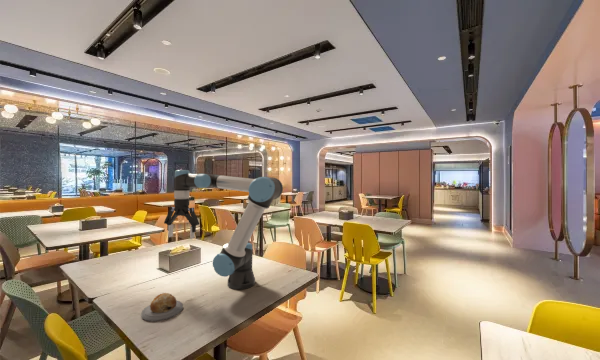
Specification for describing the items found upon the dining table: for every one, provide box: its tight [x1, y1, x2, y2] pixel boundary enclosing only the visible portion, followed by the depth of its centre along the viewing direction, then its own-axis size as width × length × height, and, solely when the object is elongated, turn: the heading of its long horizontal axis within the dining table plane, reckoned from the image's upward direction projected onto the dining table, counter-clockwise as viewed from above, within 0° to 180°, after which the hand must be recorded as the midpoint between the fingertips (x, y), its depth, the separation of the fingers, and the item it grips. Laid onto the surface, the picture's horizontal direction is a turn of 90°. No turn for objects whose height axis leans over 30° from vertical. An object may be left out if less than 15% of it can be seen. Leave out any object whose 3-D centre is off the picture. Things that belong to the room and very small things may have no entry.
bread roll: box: [149, 292, 177, 313], centre depth 111 cm, size 10×10×8 cm
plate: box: [140, 299, 184, 322], centre depth 111 cm, size 16×16×1 cm
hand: (181, 237), depth 137 cm, fingers open, 13 cm apart
